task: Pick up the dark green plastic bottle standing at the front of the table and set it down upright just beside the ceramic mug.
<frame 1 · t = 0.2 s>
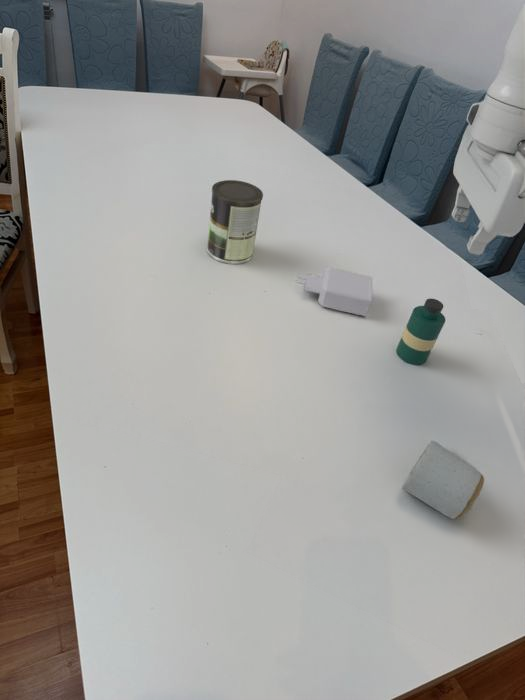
hand: (464, 234, 67), 27 cm above the table, tool pointing down, fingers open, 8 cm apart
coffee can: (230, 252, 109), on the table
bottle: (411, 354, 91), on the table
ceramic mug: (433, 489, 68), on the table
charger: (329, 298, 101), on the table
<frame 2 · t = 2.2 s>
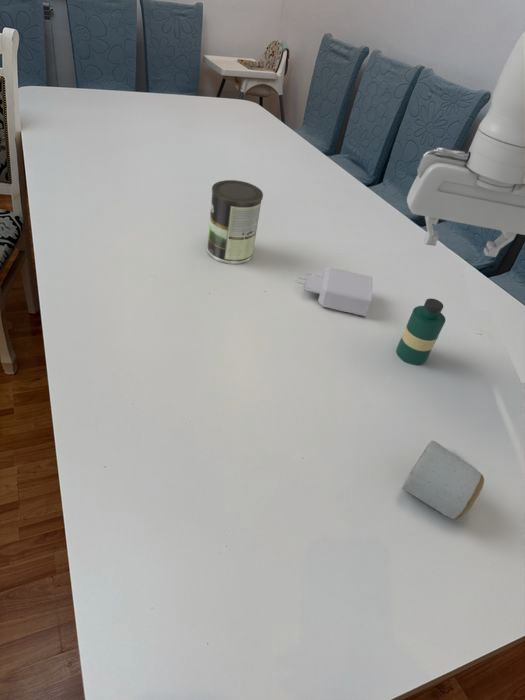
hand: (459, 249, 76), 22 cm above the table, tool pointing down, fingers open, 8 cm apart
nothing on the table moved.
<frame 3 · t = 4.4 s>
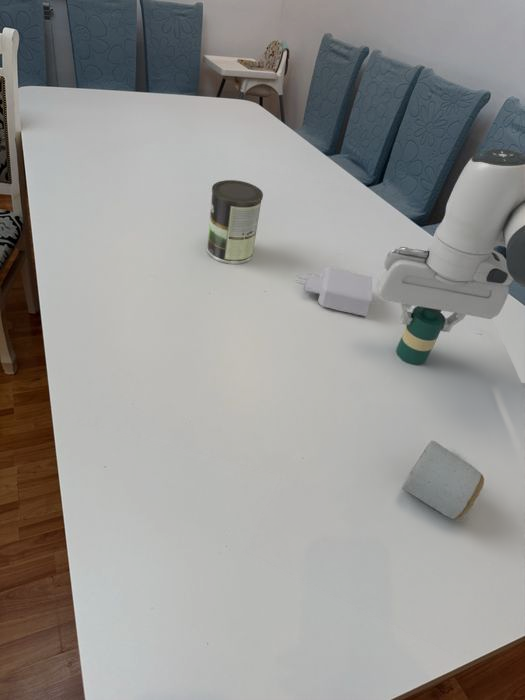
hand: (424, 326, 86), 7 cm above the table, tool pointing down, fingers closed on bottle, 5 cm apart
bottle: (411, 354, 91), on the table, touching gripper
everything else where it was.
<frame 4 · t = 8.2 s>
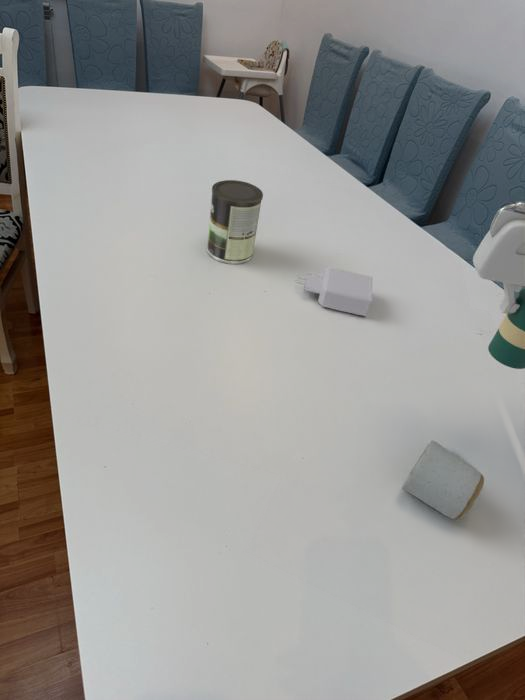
bottle: (508, 354, 67), point 16 cm above the table, touching gripper
everything else where it was.
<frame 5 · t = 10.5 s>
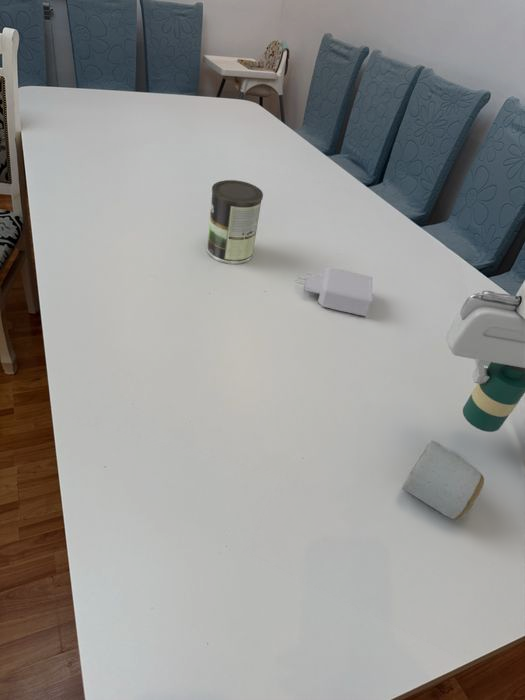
hand: (502, 385, 68), 12 cm above the table, tool pointing down, fingers closed on bottle, 5 cm apart
bottle: (481, 417, 73), point 5 cm above the table, touching gripper
everything else where it was.
when the fingers open (6 cm above the table, at t = 12.3 s): bottle stays where it is, on the table.
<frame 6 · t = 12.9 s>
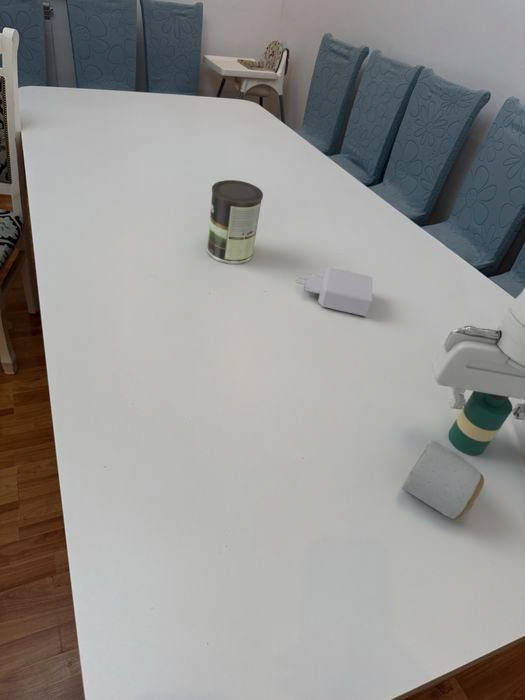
hand: (486, 411, 72), 7 cm above the table, tool pointing down, fingers open, 8 cm apart
bottle: (466, 440, 76), on the table
everything else where it was.
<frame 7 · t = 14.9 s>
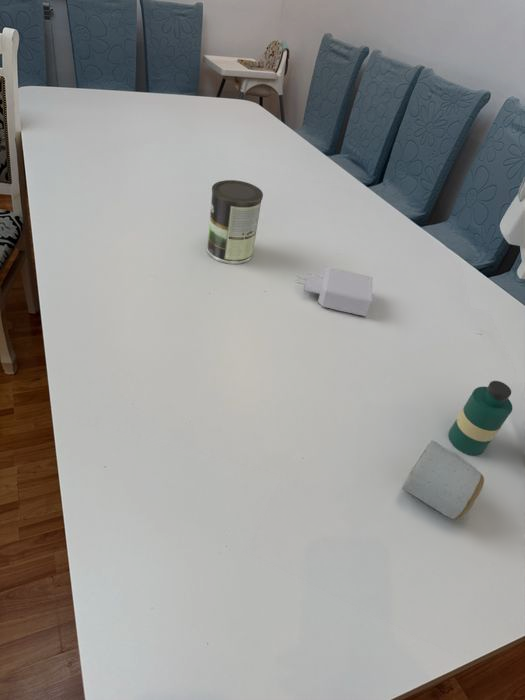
nothing on the table moved.
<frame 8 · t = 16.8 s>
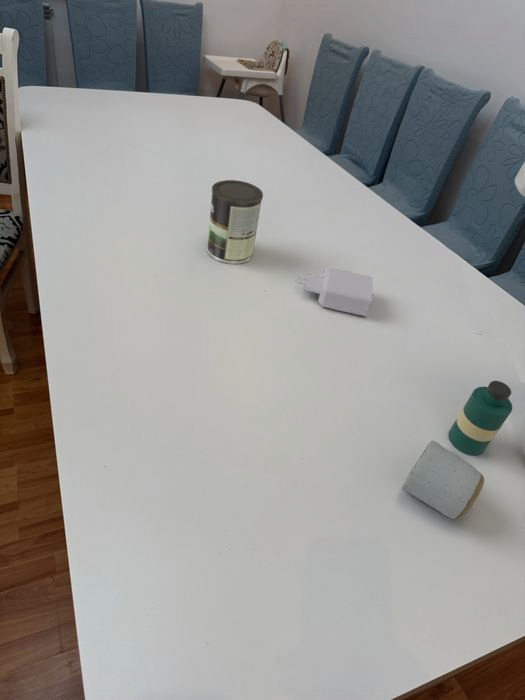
nothing on the table moved.
at the end: bottle 12.2 cm from the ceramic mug (horizontally); bottle tilted 0°; bottle moved 19.9 cm from its start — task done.
